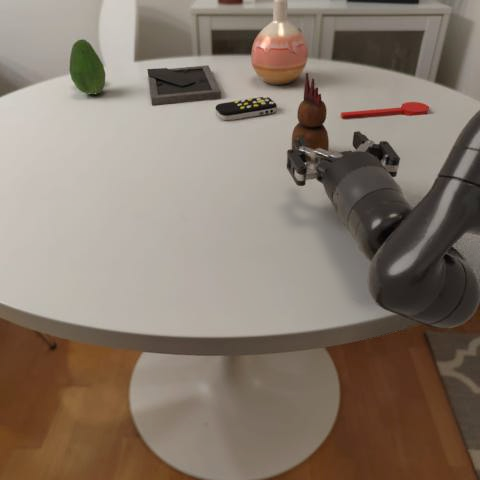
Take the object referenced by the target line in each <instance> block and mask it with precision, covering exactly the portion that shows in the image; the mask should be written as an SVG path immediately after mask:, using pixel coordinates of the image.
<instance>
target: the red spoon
mask: <svg viewBox="0 0 480 480" xmlns="http://www.w3.org/2000/svg"><path fill="white" fill-rule="evenodd" d="M429 110H430V107H429V105H427V104H426V103H424V102H419V101H418V102H417V101H407V102H404V103H402V104H401V106H399V107H390V108H389V107H388V108H379V109H377V108H376V109H366V110H365V109H364V110H353V111H342V112H340V117H341V119H342V120H346V119H347V120H348V119H359V118H369V117H381V116H382V117H383V116H393V115H406V116H408V117H409V116H410V117H413V116H423V115H424V116H425V115H428V113H429Z"/></svg>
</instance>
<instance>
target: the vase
mask: <svg viewBox="0 0 480 480" xmlns="http://www.w3.org/2000/svg"><path fill="white" fill-rule="evenodd" d="M272 9H273V10H272V21H271V22H269V23H268V24H267V25H265V26H264V28H262V29H261V30H260V31H259V32H258V34H257V36H256V37H255V39H254V41H253V43H252V46H251V52H250V59H251V60H250V61H251V65H252V68H253V70H254V72H255V73H256V75H258V77H260V78H261V79H262V80H263V81H264V82H265V83H267V84H269V85H275V86H281V85H287V84H290V83H292V82H293V81H294V80H295V79H296V78H298V77H299V76H300V75H301V74H302V73H303V71H304V70H305V68H306V66H307V63H308V57H309V54H308V53H309V50H308V44H307V41H306V38H305V37H304V35H303V34H302V33H301V31H300V29H299V28H297V27H296V26H295V25H294V24H293V23H292V22H290V21H289V20H288V0H273V8H272Z"/></svg>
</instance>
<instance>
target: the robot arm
mask: <svg viewBox="0 0 480 480" xmlns="http://www.w3.org/2000/svg"><path fill="white" fill-rule="evenodd" d="M352 147H353V148H354V149H355V150H353V151H352V150H347V151H346V150H345V151H341V152H338V151H334V152H332V151H330V150H328V151H327V150H324V149H321V148H317V149H315V150H314V149H311V148H308V145H307V144H306V142H305V140H304V138H303V137H302V136H300V137H297V140H294V149H292V148H291V149H288V150H286V157H287V158H286V170H287V171H288V173H289V175H290V176H291V178H292V179H293V181H294V183H295V185H296V186H298V187H305V186H306V184H307V183H306V181H307V180H316V181H317V182H319V183H320V184H322V186H323V188H324V191H325V193H326V195H327V197H328V199H329V201H330V202H331V205H332V206H333V208H334V211H335V213H336V214H337V216H338V217H339V219H340V220H341V222H342V224H343V225H344V226H345V227H346V229H347V230H348V231H349V232H350V234H351V236H352V238H353V239H354V240H355V243H356V245H357V247H358V248H359V250H360V251H361V253H362V254H363V256H365V258H367V259H368V261H370V263H369V267H368V272H367V289H368V293H369V296H370V298H371V299H372V301H373V302H374V303H375V304H376V305H377V306H379V308H381V309H383V310H386V311H388V312H391V313H393V314H396V315H398V316H401V317H403V318H406V319H409V320H412V321H414V322H416V323H419V324H422V325H425V326H428V327H431V328H435V329H442V330H443V329H444V330H445V329H447V330H448V329H452V328H456V327H460V326H462V325H464V324H466V323H467V322H468V321H469V320H470V319H471V318H472V317H473V316H474V315H475V314H476V312H477V311H478V309H479V306H480V279H479V276H478V273H477V271H476V270H475V269H474V267H473V266H472V264H471V263H470V261H469V260H468V259H467V258H466V257H465V256H464V255H463V254H462V253H460V252H459V250H457V249H456V248H455V247H454V245H455V244H456V243H457V242H458V241H459V240H460V239H461V238H462V237H463V236H465V235H466V234H470V235H476V236H480V109H479V110H478V111H476V112H475V113H474V114H473V116H472V117H470V119H469V120H468V122H467V123H466V124H465V126H464V127H463V128H462V130H461V131H460V133H459V134H458V136H457V138H456V140H455V141H454V143H453V145H452V147H451V149H450V151H449V153H448V155H447V157H446V159H445V161H444V162H443V164H442V166H441V168H440V170H439V172H438V173H437V175H436V178H435V180H434V181H433V183H432V185H431V187H430V189H429V190H428V192H426V194H425V195H424V196H423V197H422V199H420V201H419V202H418V203H417V204H416V205H415V206H413V205H412V204H411V202H410V201H409V200H408V199H407V197H406V196H405V194H404V193H403V191H402V187H400V185H399V183H398V182H397V181H396V180H395V178H396V177H397V176H398V171H399V166H400V160H401V158H400V156H399V155H398V154H397V152H396V151H395V150H394V148H393V147H392V146H391V144H390V143H389V142H388V141H386V140H381V141H379V143H375V141H374V140H372V139H371V140H370V139H369V138H368V137H367V135H366V134H363V133H362V132H361V131H359V130H357V131H354V132H353V136H352ZM307 156H310V158H311V160H310V161H307ZM320 157H322V158H323V159H322V161H321V162H320Z"/></svg>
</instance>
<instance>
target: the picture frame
mask: <svg viewBox="0 0 480 480" xmlns="http://www.w3.org/2000/svg"><path fill="white" fill-rule="evenodd" d="M146 71H147V76H148V85H149V93H150V101H151V105H152V106H158V104H159V105H168V104H178V102H179V103H187V101H190V102H197V101H198V102H200V101H208V99H210V100H218V99H222V91H221V89H220V86H219V84H218V82H217V80H216V78H215V75H214V74H213V72H212V70H211V68H210V65H196V66H186V67H175V68H168V67H161V68H147V69H146Z"/></svg>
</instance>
